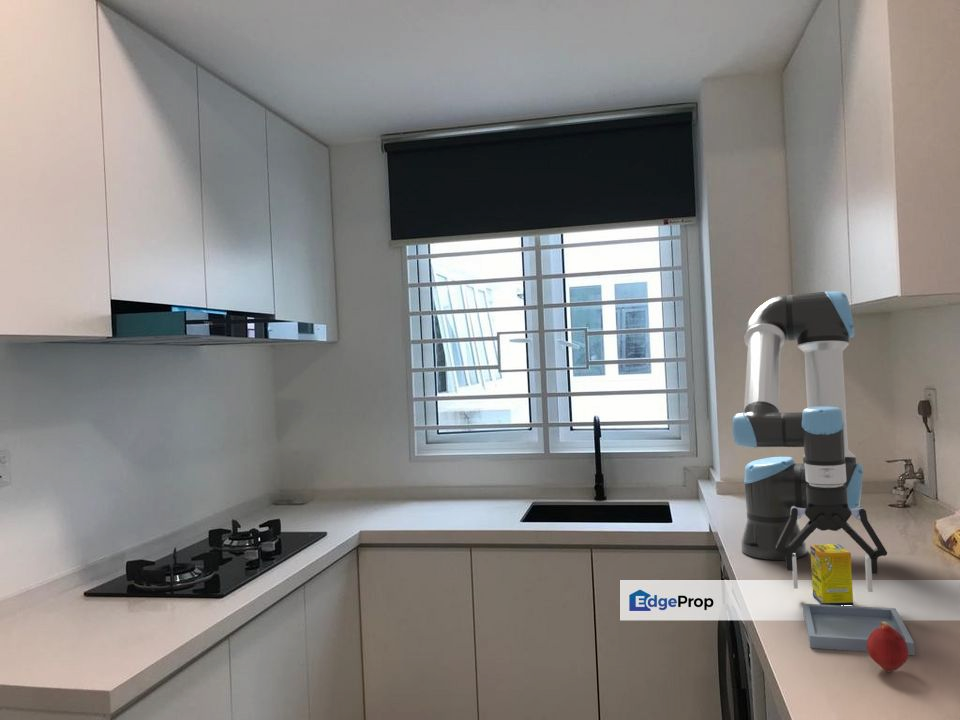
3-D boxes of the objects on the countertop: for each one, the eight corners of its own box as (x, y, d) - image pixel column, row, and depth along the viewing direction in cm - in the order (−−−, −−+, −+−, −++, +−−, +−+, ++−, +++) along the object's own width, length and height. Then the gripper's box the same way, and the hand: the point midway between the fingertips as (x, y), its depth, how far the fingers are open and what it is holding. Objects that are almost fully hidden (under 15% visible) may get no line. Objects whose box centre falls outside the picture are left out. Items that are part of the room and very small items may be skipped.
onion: (895, 662, 121) (892, 613, 121) (917, 677, 115) (914, 627, 115) (861, 664, 121) (858, 616, 121) (881, 680, 115) (878, 630, 115)
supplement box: (812, 596, 152) (809, 544, 152) (842, 596, 152) (839, 543, 151) (822, 607, 146) (819, 552, 146) (854, 606, 146) (851, 551, 145)
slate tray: (803, 614, 143) (802, 603, 143) (896, 619, 138) (895, 608, 138) (810, 647, 128) (809, 635, 128) (914, 655, 123) (914, 642, 123)
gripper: (760, 487, 149) (766, 591, 150) (899, 487, 141) (905, 597, 141) (759, 480, 156) (765, 579, 157) (892, 480, 148) (898, 584, 148)
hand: (831, 588), depth 149 cm, fingers open, 13 cm apart
